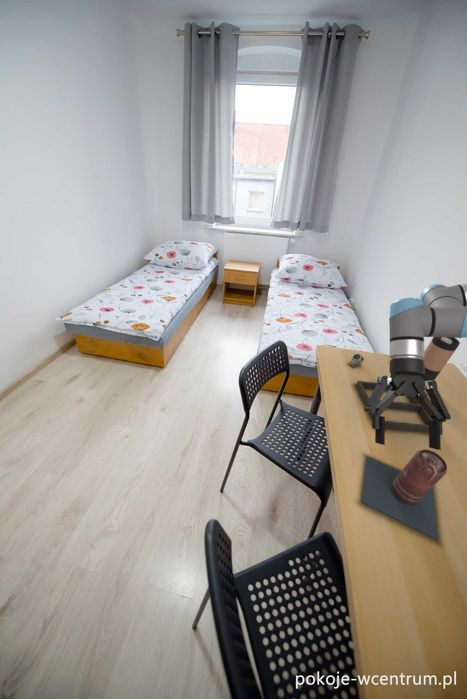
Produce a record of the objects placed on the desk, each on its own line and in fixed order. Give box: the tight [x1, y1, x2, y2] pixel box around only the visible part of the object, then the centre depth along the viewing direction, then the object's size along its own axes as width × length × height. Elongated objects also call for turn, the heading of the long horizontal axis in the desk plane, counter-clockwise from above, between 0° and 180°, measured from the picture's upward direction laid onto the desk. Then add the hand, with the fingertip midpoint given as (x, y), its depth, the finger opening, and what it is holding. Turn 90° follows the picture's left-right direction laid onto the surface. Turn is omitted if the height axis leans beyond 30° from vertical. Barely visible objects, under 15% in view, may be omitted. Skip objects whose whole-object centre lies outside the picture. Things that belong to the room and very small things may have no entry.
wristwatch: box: [349, 353, 365, 367], centre depth 109 cm, size 4×6×5 cm, turn 118°
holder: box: [355, 380, 433, 434], centre depth 92 cm, size 19×19×2 cm
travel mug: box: [422, 337, 461, 390], centre depth 100 cm, size 8×8×20 cm
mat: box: [361, 455, 439, 542], centre depth 68 cm, size 16×14×1 cm
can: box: [391, 448, 448, 505], centre depth 63 cm, size 6×6×14 cm
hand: (407, 446), depth 66 cm, fingers open, 13 cm apart
